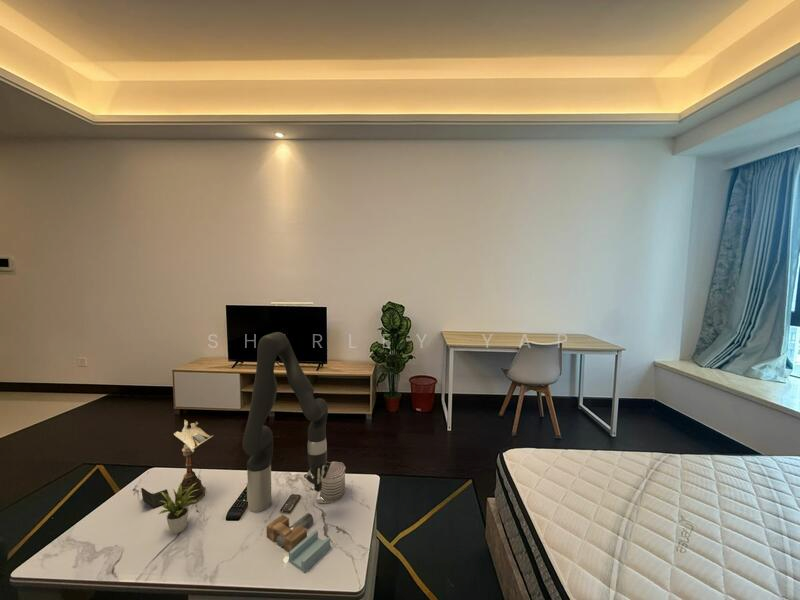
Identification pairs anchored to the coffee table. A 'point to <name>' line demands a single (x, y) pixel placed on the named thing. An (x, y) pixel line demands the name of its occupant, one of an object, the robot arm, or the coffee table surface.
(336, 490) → the can
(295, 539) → the brown h-shaped block
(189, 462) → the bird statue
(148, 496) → the dark v-shaped block
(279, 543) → the axle
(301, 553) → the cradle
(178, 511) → the house plant
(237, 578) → the coffee table surface
